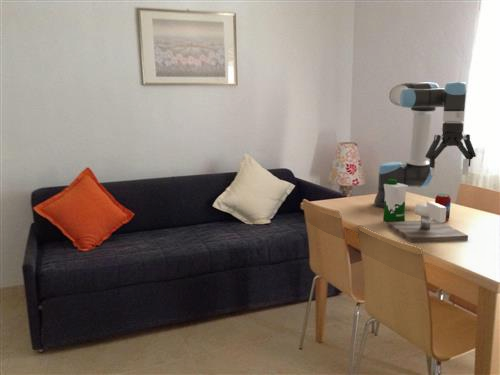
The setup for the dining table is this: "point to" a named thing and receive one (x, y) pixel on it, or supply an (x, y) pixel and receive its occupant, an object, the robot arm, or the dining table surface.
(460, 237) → the base plate
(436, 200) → the beverage can
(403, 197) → the milk carton
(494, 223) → the dining table surface
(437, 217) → the spoon
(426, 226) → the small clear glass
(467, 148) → the robot arm
